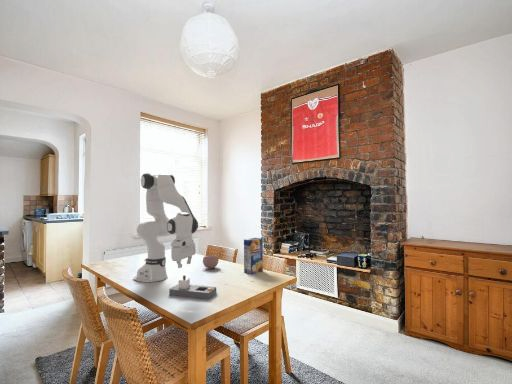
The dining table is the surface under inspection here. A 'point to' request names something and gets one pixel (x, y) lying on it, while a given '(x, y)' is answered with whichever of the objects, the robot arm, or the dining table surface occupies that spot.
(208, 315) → the dining table surface
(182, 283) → the plug
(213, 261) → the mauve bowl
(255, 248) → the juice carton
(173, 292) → the power strip
